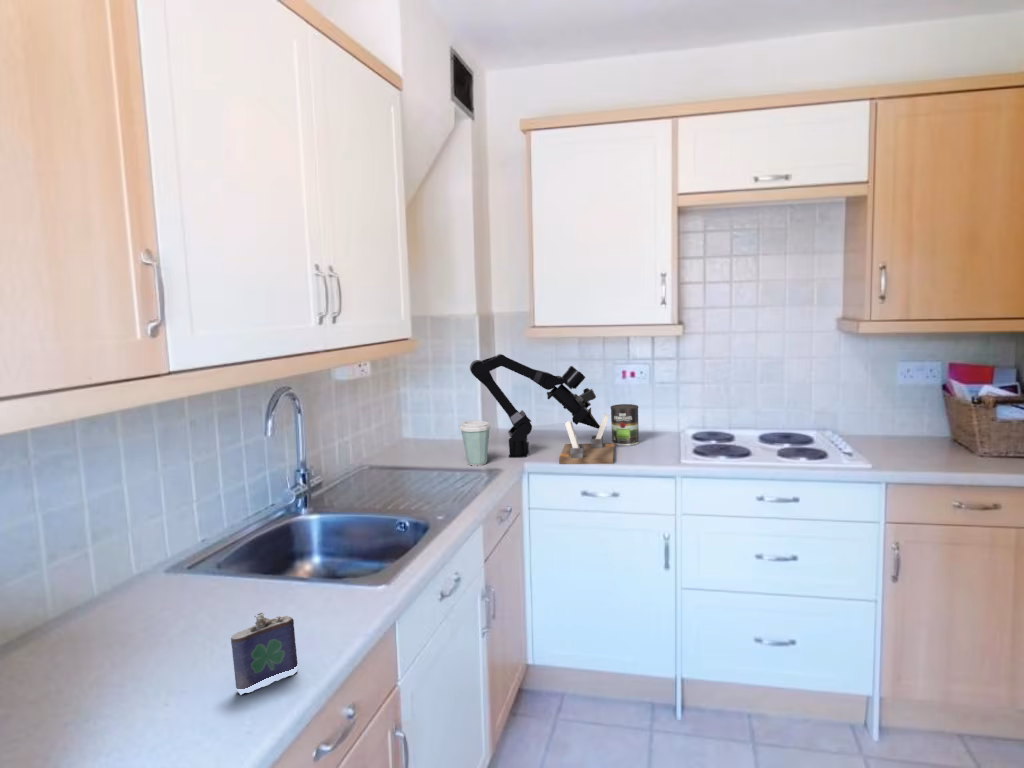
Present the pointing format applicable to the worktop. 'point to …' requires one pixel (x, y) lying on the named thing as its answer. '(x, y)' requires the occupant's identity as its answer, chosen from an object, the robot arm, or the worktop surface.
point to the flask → (263, 650)
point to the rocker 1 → (572, 434)
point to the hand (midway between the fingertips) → (599, 427)
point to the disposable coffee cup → (475, 441)
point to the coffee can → (624, 424)
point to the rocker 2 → (602, 426)
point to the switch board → (588, 453)
